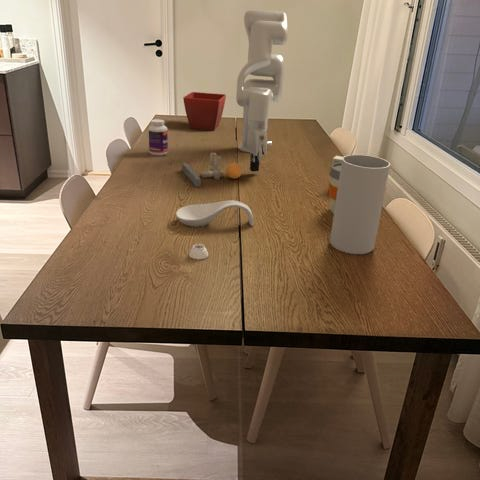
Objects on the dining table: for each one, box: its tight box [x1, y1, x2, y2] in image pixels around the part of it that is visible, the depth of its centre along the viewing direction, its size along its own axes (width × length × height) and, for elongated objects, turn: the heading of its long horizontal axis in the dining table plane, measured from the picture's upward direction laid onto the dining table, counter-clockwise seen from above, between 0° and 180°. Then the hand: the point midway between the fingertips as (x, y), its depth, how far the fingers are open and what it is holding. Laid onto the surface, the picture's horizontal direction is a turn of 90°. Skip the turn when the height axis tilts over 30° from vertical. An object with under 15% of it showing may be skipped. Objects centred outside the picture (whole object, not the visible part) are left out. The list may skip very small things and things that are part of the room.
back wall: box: [181, 162, 202, 188], centre depth 186 cm, size 2×20×3 cm, turn 21°
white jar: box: [188, 243, 209, 260], centre depth 129 cm, size 5×3×5 cm
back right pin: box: [209, 152, 217, 171], centre depth 190 cm, size 2×2×8 cm
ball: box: [225, 162, 243, 180], centre depth 188 cm, size 6×6×6 cm
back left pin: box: [213, 155, 222, 181], centre depth 186 cm, size 2×2×8 cm
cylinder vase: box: [329, 154, 391, 255], centre depth 135 cm, size 12×12×25 cm
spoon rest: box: [175, 199, 255, 228], centre depth 148 cm, size 24×12×7 cm, turn 96°
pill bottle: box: [148, 119, 169, 157], centre depth 211 cm, size 8×8×14 cm
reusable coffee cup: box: [328, 163, 342, 213], centre depth 161 cm, size 13×13×15 cm
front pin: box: [200, 170, 225, 179], centre depth 189 cm, size 2×2×8 cm
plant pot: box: [183, 91, 227, 132], centre depth 261 cm, size 19×19×17 cm
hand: (254, 170), depth 195 cm, fingers closed
